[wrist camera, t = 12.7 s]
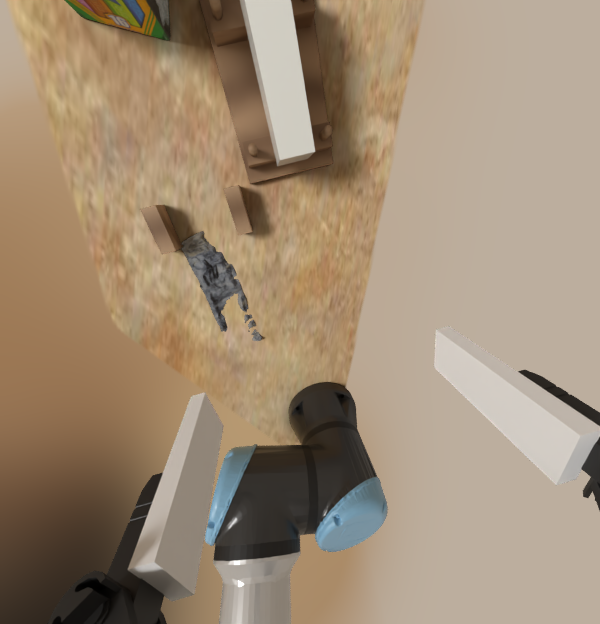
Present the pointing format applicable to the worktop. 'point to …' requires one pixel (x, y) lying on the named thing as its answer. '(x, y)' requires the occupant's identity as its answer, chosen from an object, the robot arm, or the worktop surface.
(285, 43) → the clay block
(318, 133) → the rack
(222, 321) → the driftwood
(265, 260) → the worktop surface
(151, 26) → the chalk box
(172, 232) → the props
